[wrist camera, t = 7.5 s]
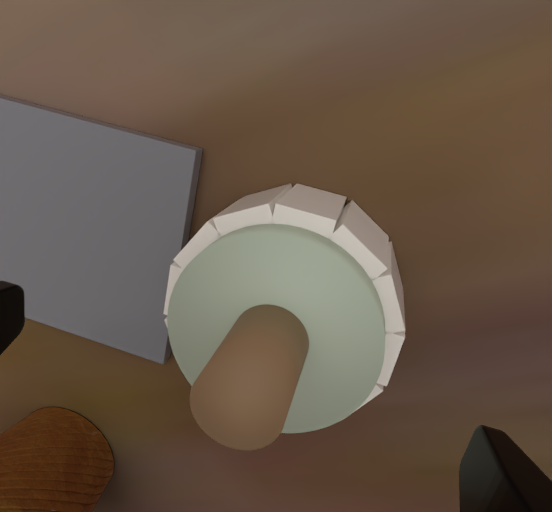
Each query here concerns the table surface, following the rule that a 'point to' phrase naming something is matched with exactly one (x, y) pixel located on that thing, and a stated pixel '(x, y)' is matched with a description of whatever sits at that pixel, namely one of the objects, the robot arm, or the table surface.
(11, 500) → the disposable coffee cup
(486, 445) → the robot arm
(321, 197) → the bowl
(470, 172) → the table surface
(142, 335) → the coaster
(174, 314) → the lid
